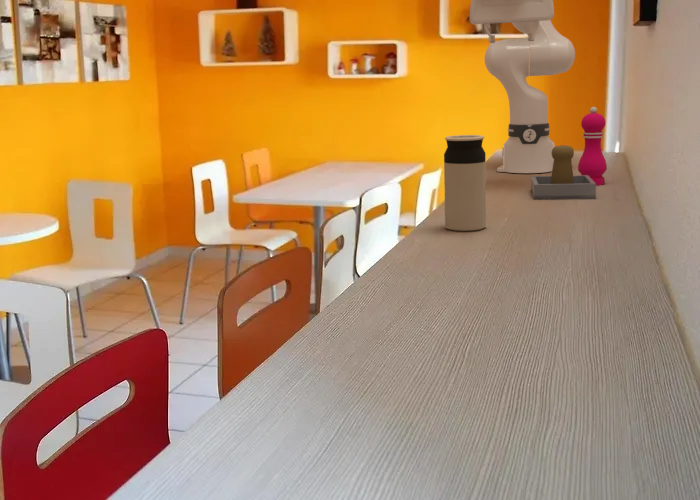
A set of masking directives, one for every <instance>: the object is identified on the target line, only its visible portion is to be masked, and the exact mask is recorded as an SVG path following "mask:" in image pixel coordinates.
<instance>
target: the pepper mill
mask: <svg viewBox="0 0 700 500" xmlns="http://www.w3.org/2000/svg"><path fill="white" fill-rule="evenodd" d="M589 112H590V113H587V114H585V115H584V116H583V117H582V119H581V122H580V123H581V124H580V125H581V128H582V130H584V132H583V133H582V134H583V136H582V138H583V139H584V148H583V153H582V155H581V157H580V159H579V161H578V164H577V170H578V172H579V173H580V175H588V176H589V177H590V178H591V179H592V180H593V181H594V182H595V183H596V187H597V186H603V185H604V184H605V177H604V176H603V175H604V174H605V172H606V171H607V169H608V168H607V165H608V164H607V161H606V157H604V154H603V151H602V139H603V138H604V135H603V134H604V132H603V130H604V129H605V127H606V119H605V117H604V116H603V115H602V114H601V113H598V108H597V107H596V106H592V107H590V109H589Z"/></svg>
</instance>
